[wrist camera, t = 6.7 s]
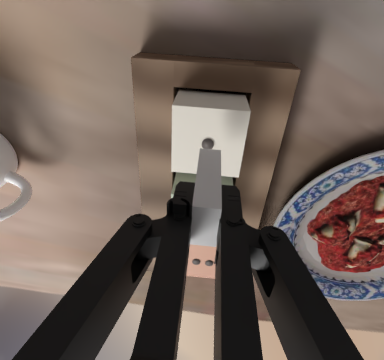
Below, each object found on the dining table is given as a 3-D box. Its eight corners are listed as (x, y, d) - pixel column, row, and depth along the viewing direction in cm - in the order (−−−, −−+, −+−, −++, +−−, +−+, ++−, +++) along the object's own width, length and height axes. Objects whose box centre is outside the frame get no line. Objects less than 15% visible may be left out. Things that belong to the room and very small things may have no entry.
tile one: (178, 89, 24) (171, 105, 20) (245, 94, 23) (250, 111, 20) (177, 149, 27) (171, 172, 23) (235, 154, 27) (238, 178, 23)
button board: (139, 52, 24) (131, 57, 22) (291, 63, 24) (300, 70, 21) (150, 254, 40) (146, 270, 37) (242, 263, 39) (244, 280, 37)
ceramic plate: (229, 214, 35) (230, 230, 32) (456, 83, 24) (484, 92, 21) (320, 306, 44) (327, 323, 42) (512, 242, 34) (536, 261, 31)
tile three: (177, 217, 35) (172, 243, 31) (222, 221, 34) (223, 248, 31) (176, 248, 38) (171, 274, 34) (217, 252, 38) (217, 279, 34)
